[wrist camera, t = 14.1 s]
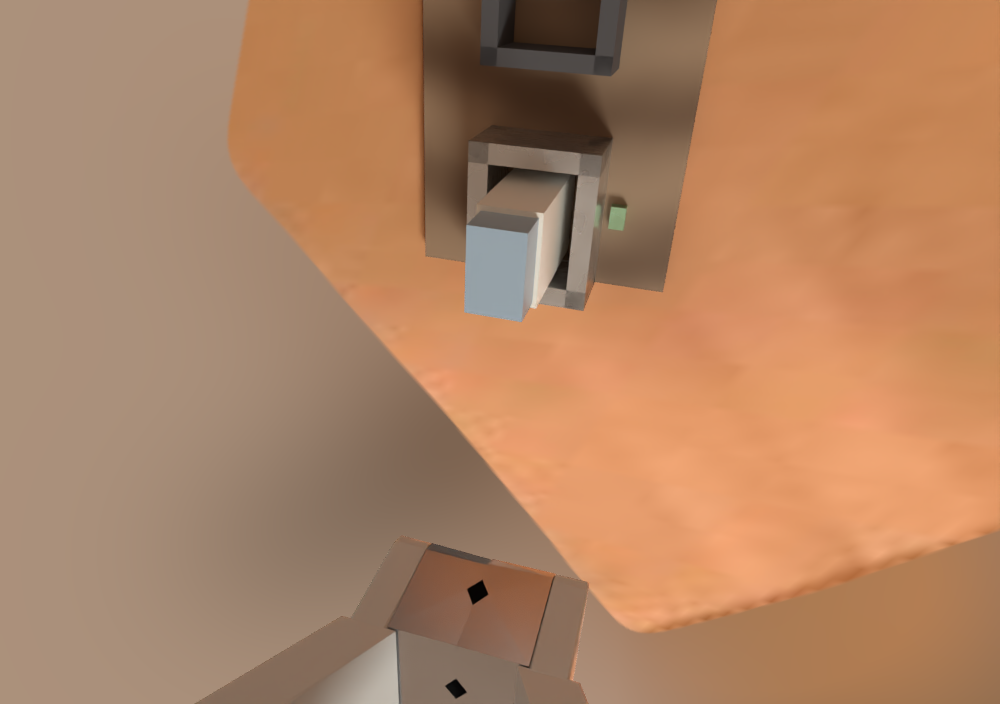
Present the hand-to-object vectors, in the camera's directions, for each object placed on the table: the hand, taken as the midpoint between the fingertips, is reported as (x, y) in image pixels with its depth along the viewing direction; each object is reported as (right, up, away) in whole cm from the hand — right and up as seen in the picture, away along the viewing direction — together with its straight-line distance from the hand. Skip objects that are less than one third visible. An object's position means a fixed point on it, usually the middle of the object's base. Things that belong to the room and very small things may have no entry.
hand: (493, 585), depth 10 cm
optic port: (+3, +12, +26) cm, 29 cm away
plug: (+3, +12, +26) cm, 29 cm away
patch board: (+3, +17, +24) cm, 30 cm away
